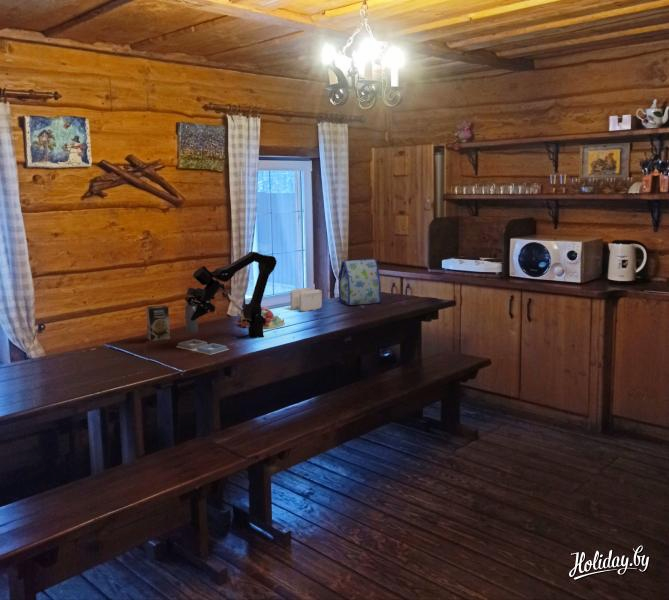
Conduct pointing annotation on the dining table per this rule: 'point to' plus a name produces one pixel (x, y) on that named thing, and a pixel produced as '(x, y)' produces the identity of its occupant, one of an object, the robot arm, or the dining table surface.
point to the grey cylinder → (190, 325)
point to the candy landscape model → (268, 315)
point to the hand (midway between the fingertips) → (188, 319)
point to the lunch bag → (359, 282)
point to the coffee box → (158, 322)
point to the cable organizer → (306, 299)
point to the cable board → (202, 347)
